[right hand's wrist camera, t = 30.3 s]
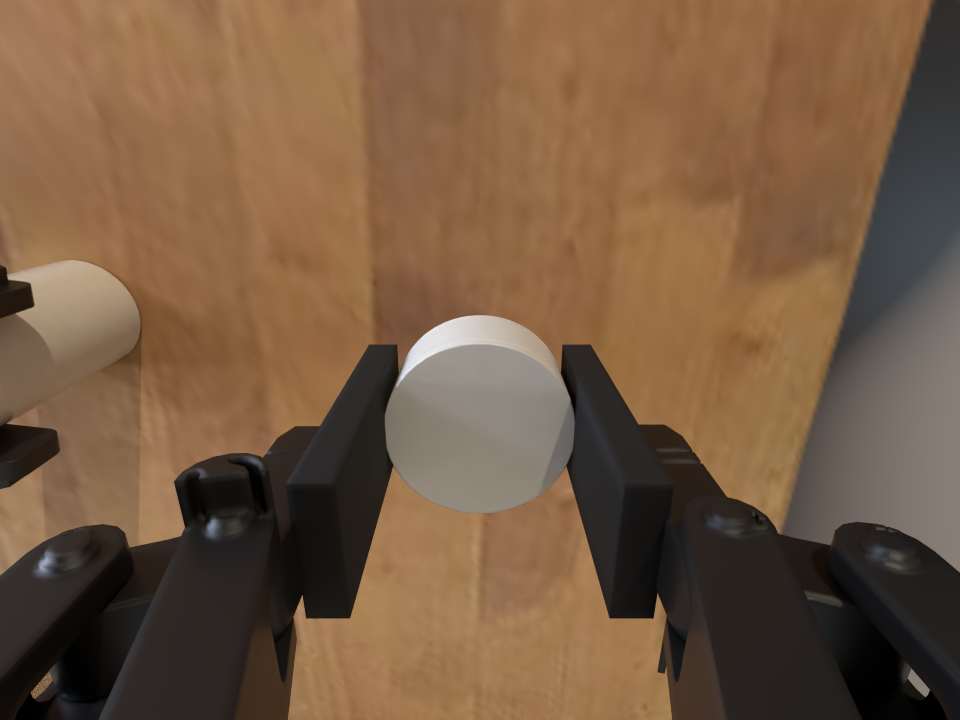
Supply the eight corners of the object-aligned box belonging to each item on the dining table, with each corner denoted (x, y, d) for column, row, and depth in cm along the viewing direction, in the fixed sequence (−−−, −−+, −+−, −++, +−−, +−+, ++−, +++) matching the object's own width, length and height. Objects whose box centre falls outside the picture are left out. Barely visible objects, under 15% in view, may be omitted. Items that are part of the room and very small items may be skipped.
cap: (364, 396, 15) (343, 436, 12) (476, 279, 13) (475, 301, 11) (482, 492, 16) (483, 544, 14) (596, 391, 14) (616, 431, 12)
